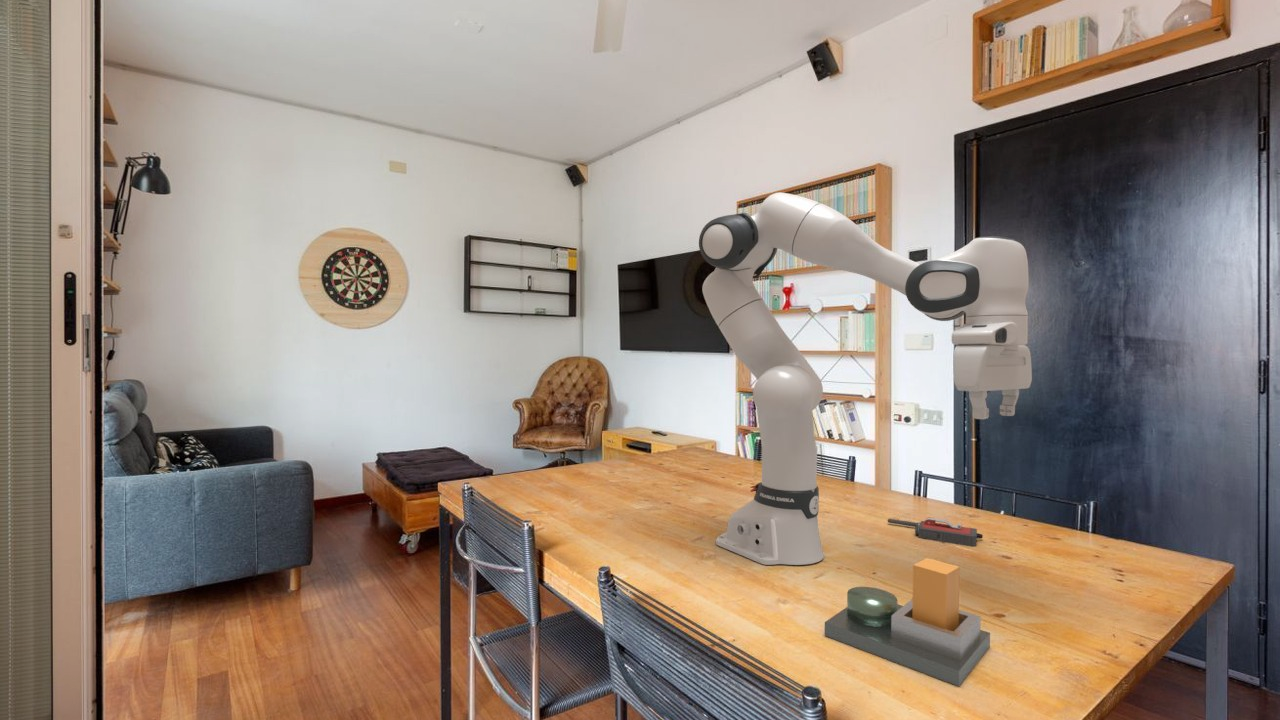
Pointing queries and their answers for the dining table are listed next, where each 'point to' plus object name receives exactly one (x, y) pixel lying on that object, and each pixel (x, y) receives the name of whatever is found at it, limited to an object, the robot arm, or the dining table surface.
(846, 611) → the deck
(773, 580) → the dining table surface
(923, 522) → the walkie-talkie
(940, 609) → the tall orange prism
